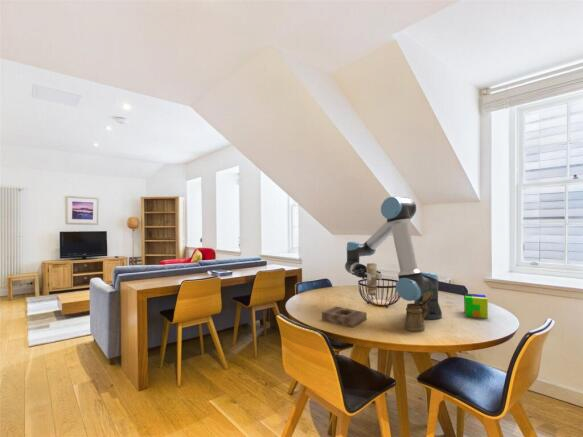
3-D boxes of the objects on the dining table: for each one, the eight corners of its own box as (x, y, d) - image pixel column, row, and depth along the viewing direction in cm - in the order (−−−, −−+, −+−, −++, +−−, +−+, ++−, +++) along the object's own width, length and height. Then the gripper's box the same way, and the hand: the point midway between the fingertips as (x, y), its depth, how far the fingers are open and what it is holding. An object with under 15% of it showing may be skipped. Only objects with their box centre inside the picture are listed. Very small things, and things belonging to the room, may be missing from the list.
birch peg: (378, 294, 165) (378, 263, 165) (373, 296, 161) (373, 264, 161) (369, 293, 168) (369, 262, 168) (364, 294, 164) (364, 264, 164)
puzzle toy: (485, 313, 173) (484, 295, 173) (487, 318, 164) (487, 299, 164) (464, 311, 177) (464, 293, 177) (465, 316, 168) (465, 297, 168)
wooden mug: (437, 331, 144) (437, 292, 145) (408, 332, 144) (407, 292, 144) (428, 325, 153) (428, 288, 153) (401, 325, 153) (400, 288, 153)
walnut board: (366, 320, 162) (366, 312, 162) (353, 327, 151) (352, 318, 151) (336, 313, 173) (336, 306, 174) (321, 319, 163) (321, 312, 163)
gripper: (373, 276, 184) (392, 284, 161) (343, 276, 181) (358, 285, 158) (373, 263, 184) (392, 269, 161) (343, 263, 181) (358, 270, 158)
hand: (375, 277), depth 159 cm, fingers closed on birch peg, 5 cm apart
